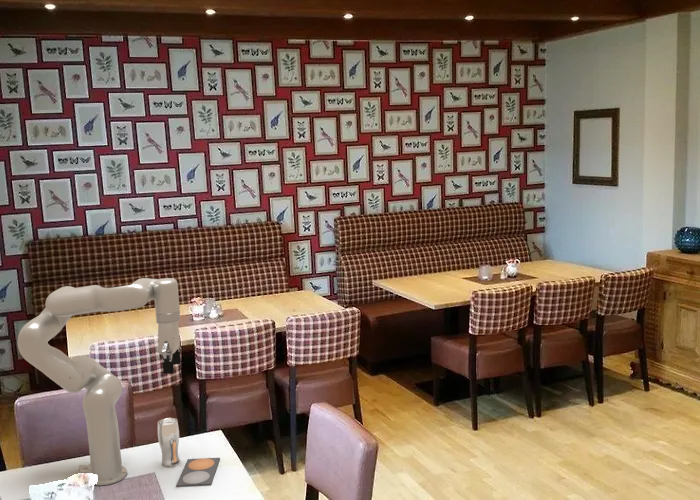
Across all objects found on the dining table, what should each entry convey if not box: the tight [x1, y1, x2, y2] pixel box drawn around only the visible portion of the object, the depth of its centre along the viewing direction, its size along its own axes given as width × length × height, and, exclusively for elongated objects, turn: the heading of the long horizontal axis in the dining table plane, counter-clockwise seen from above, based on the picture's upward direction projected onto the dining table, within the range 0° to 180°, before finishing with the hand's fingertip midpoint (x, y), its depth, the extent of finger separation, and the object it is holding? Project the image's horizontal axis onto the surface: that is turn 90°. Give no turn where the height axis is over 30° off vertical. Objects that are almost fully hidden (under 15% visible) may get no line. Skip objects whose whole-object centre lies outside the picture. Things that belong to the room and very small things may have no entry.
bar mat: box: [175, 457, 221, 488], centre depth 235 cm, size 11×19×1 cm, turn 2°
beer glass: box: [157, 417, 181, 468], centre depth 241 cm, size 7×7×15 cm
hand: (172, 368), depth 230 cm, fingers open, 9 cm apart
